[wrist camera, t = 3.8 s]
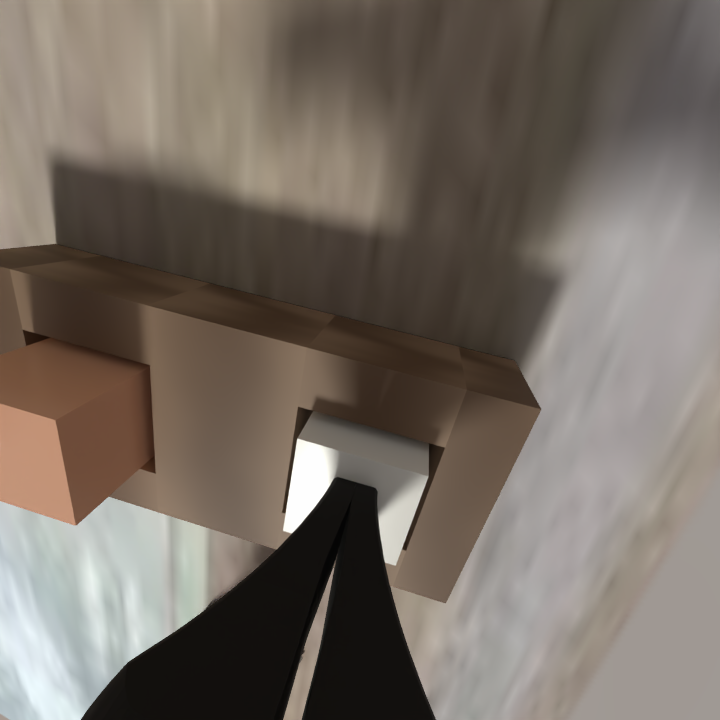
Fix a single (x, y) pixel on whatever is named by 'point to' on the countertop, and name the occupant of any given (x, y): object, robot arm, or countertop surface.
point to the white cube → (359, 473)
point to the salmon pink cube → (71, 427)
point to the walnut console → (277, 398)
